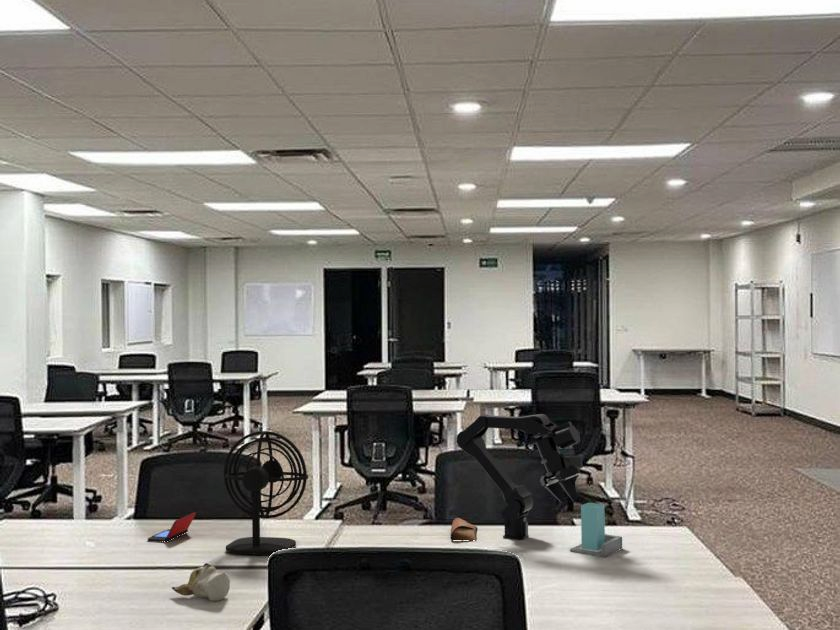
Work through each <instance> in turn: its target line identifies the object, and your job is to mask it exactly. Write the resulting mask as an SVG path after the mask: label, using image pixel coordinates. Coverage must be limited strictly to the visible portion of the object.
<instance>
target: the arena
mask: <svg viewBox="0 0 840 630" xmlns="http://www.w3.org/2000/svg"><path fill="white" fill-rule="evenodd" d="M621 548H622V549H623V536H621V535H620V536H619V535H613V534H607V533H605V543H603V544H601V549H600V550H598V551H595V550H589V549H584V548H582V543H580V544H578V545H575V546H574V547H572V548H570V549H569V551H570V552H572V553H573V552H574V553H578V554H579V553H580V554H584V555H588V556H589V555H590V556H597V557H602V558H607V557H609V556H611V555H612V553H613V554H614V552H615V553H616V551H617V552H618V550H619V549H621ZM622 549H621V550H622ZM619 551H620V550H619Z"/></svg>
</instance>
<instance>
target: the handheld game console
mask: <svg viewBox="0 0 840 630" xmlns="http://www.w3.org/2000/svg"><path fill="white" fill-rule="evenodd" d="M196 514H197V513H196V512H195V511H194V512H192V513H189V514H186V515H185V516H182V517H180V518H178V519H176V520H174V522H173V524H172V525H171V527H170V528H168V529H165V530H162V531H161V532H159V533H155V534H153V535H152V536H150V537H148V538H147V542H150V541H161V542H160V543H165V542H167V541H169V540H171V539H173V538H175V537H177V536H179V535H182V534H184V533H186V532H188V533H189V528H190V525H191V524H192V522H193V520H194V519H195V516H196ZM182 536H183V535H182ZM177 538H178V537H177ZM175 539H176V538H175ZM162 541H163V542H162ZM164 541H165V542H164ZM171 541H172V540H171ZM169 542H170V541H169ZM167 543H168V542H167Z"/></svg>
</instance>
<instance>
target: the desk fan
mask: <svg viewBox="0 0 840 630" xmlns="http://www.w3.org/2000/svg"><path fill="white" fill-rule="evenodd" d="M257 435H260V436H259V438H257V439H254V440H251V441H248V442H246V443H244V444H242V445H241V446H240V447H239V448H238V446H239V445H240V444H241V443H242V442H244V441H245V440H247V439H248V438H251V437H253V436H257ZM270 436H274V437H277V438H273V437H270ZM282 440H283V441H282ZM254 443H258V445H257V450H256V451H255V452H252V453H251V452H250V453H249V454H247V455H246V456H244V457H243V458H242V459H241V460H240V458H241V455H242V454H243V452H245V450H246V449H247V448H248V447H249V446H251V445H253V444H254ZM263 443H267V446H268V447H264V448H262V445H263ZM272 445H274V446H276V447H278V448H279V449H277V448H275V447H272ZM236 448H238V449H237V450H236ZM287 449H288V450H287ZM235 450H236V451H235ZM266 450H268V453H267V452H264V451H266ZM234 451H235V452H234ZM273 451H276V452H278V453H279V454H281V455H282V456H283V457H284V458H285V459H286V460H287V461H288V463H289V468H290V471H284V470H283V467H282V464H281V463H280V462H279V460H278V459H277V458H276V457H274V456H273ZM233 453H234V454H233ZM291 454H292V455H291ZM261 455H265V456H267V457H269V460H267V461H265V462H264V463H263V464H262V466H261V464H260V463H261ZM250 456H251V457H250ZM255 456H256V466H255V465H254V466H253V467H251V468H250V464H251V462H252V460H253V459H254V457H255ZM292 456H293V457H292ZM249 457H250V458H249ZM247 458H249V460H248V462H247V464H246V469H245V470H246V471H239V470H240V467H241V466H242V464H243V462H244V461H245V460H246V459H247ZM239 460H240V462H239ZM296 465H297V466H296ZM232 468H233V469H232ZM297 469H298V470H297ZM285 476H290V477H285ZM223 479H224V480H223V481H224V486H225V489H226V491H227V493H228V495H229V498H230V500H232V502H233V503H234V504H235V505H236V507H238V508H239V509H240V510H241V511H242V512H243V513H245V514H247V515H249V516H251V517H252V518H251V519H252V520H251V521H252V523H251V524H252V526H251V527H252V529H251V530H252V531H251V532H252V535H251V536H246V537H239V538H237V539H235V540H232V541H231V542H230V543H228V544H227V545H226V546H225V552H228V553H230V554H231V553H232V554H238V555H242V554H243V555H262V556H268V555H271V554H272V553H273V552H276V551H278V550H282V549H288V548H292V547H293V548H294V547H296V545H297V540H295V539H291V538H288V537H276V536H275V537H271V536H261V519H275V518H278V517H281V516H283V515H285V514H287V513H288V512H290V511H291V510H292V509H293V508H295V507H296V506H297V505H298V504H299V502H300V501H301V498H303V495H304V492H305V490H306V487H307V481H308V479H309V474H308V471H307V465H306V462H305V459H304V457H303V454H302V452H301V451H300V450H299V448H298V447H297V446H296V444H295V443H294V442H293V441H291V440H290V439H289V438H287V437H286V436H285V435H283V434H280V433H278V432H275V431H268V430H262V431H260V430H259V431H254V432H251V433H249V434H246V435H245V436H243V437H241V438H240V439H239V440H237V442H235V443H234V445H233V446H232V447H231V448H230V450H229V452H228V454H227V456H226V459H225V462H224V467H223ZM233 481H234V484H235V487H236V489H235V488H234V484H233ZM239 481H241V482H242V485H243V487H244V488H245V490H246V491H248V492H251V497H250V496H248V495H247V494H246V493H245V492H244V491H243V489H242V488H241V486H240V482H239ZM277 482H281V483H280V487H279V489H278V491H277V492H276V493H275V494H273V492H274V484H275V483H277ZM284 482H289V483H288V485H287V486H286V488H285V489H284V490H283V491H282V489H283V486H284ZM292 482H293V486H292V489H291V492H290V493H289V495H288V497H287V498H286V500H284V501H283V502H282V503H281V504H279V505H275V506H272V504H273V503H272V502H273V500H274V499H275V498H276V497H278V496H280V495H282V494H284V493H286V491H287V490H288V489H289V488H290V486H291V484H292ZM268 485H269V494H266V493H264V492H261V491H262V490H264V489H265V488H267V486H268ZM300 488H301V489H300ZM236 490H237V492H238V493H239V495H240V496H241V498H242V499H244V501H243V500H242V499H241V498H240V496H239V495H238V493H237V492H236ZM299 490H300V492H299ZM298 492H299V494H298ZM297 494H298V496H297V498H296V500H295V501H294V502H293V503H292V504H291V505H290V506H288V508H287V509H285V510H283V511H281V512H278V513H276V514H270V512H274V511H277V510H279V509H281V508H282V507H284V506H286V505H288V504H289V503H290V502H291V501H292V500H294V498H295V496H296V495H297ZM261 497H266V498H268V499H265V500H262V499H261ZM245 501H246V502H245ZM247 503H248V504H247ZM263 503H268V504H267V506H263V505H262V504H263ZM293 548H292V549H293ZM272 555H273V554H272Z"/></svg>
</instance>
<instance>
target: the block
mask: <svg viewBox="0 0 840 630" xmlns="http://www.w3.org/2000/svg"><path fill="white" fill-rule="evenodd" d="M605 519H606V518H605V504H603V503H595V502H587V503H583V504H581V505H580V522H581V525H580V526H581V527H580V528H581V531H580V532H581V544H582V548H584V549H589V550H595V551H598V550H600V549H601V544H603V543H605V534H606V530H605V528H606V525H605Z"/></svg>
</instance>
